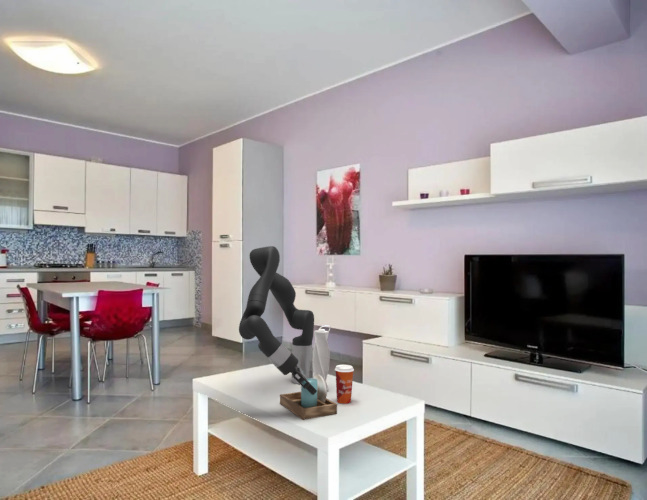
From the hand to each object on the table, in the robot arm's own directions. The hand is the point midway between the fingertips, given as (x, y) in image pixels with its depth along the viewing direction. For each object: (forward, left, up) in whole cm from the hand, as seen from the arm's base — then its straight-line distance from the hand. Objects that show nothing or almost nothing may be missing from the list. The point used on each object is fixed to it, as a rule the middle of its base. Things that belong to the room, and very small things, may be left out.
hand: (313, 389), depth 163 cm
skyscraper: (-16, -24, -9) cm, 31 cm away
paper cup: (-17, -6, -9) cm, 20 cm away
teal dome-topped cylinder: (+1, -1, -7) cm, 8 cm away
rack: (0, -5, -8) cm, 10 cm away
